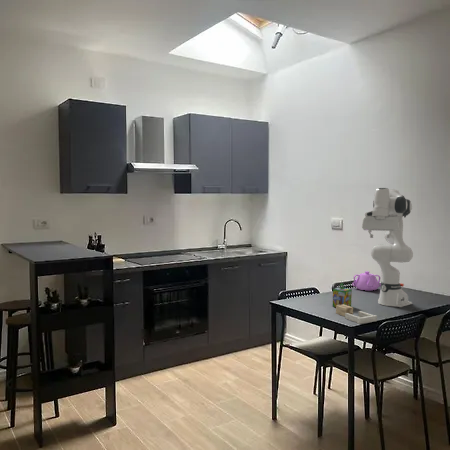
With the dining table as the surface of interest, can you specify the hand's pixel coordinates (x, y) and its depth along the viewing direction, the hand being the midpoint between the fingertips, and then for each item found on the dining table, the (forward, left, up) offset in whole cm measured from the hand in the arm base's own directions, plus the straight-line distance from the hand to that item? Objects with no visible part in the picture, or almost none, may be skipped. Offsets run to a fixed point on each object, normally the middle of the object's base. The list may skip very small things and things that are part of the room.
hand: (379, 237), depth 263 cm
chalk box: (-1, -30, -47) cm, 56 cm away
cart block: (+11, -15, -47) cm, 51 cm away
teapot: (-55, -61, -47) cm, 94 cm away
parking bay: (+11, -2, -47) cm, 48 cm away
